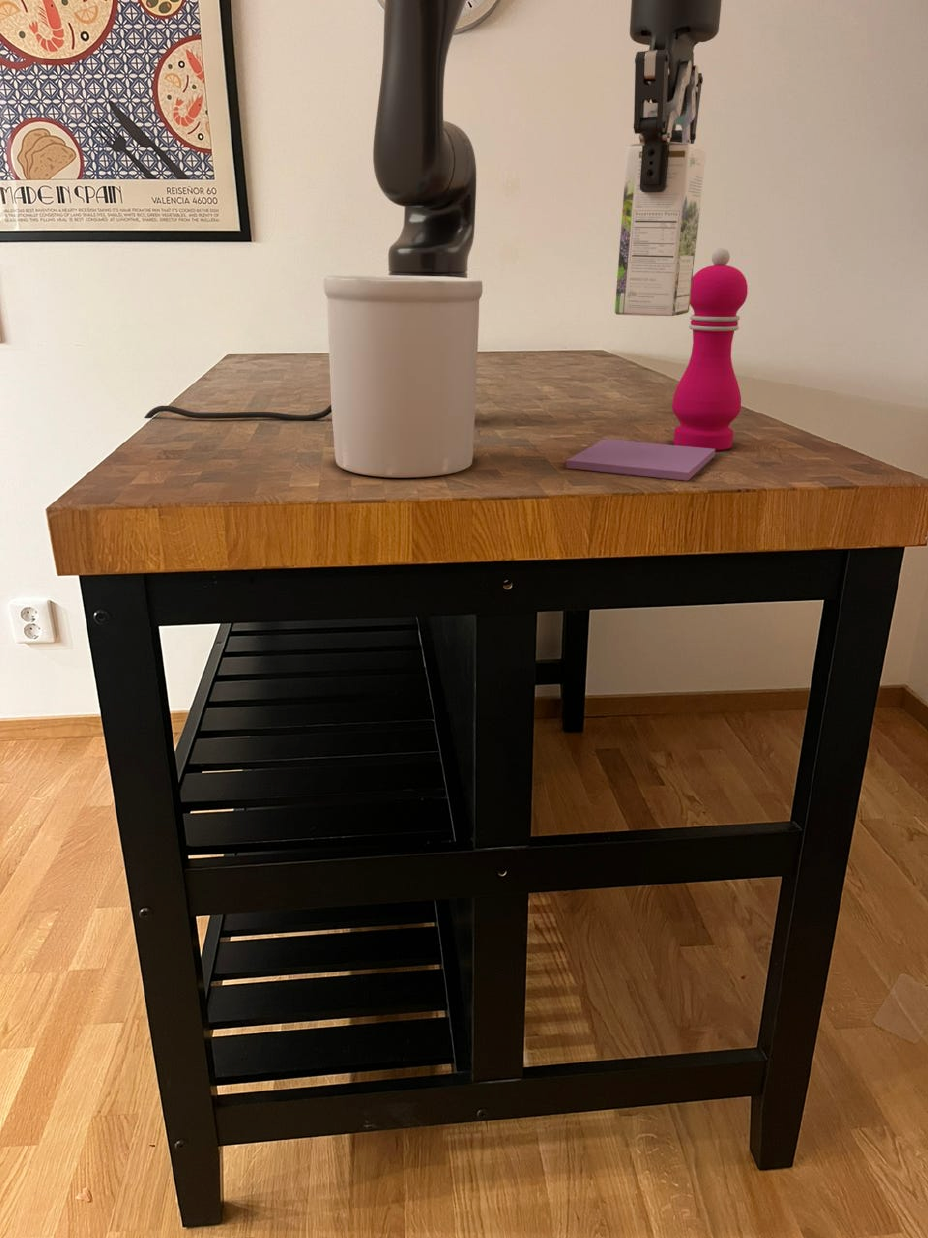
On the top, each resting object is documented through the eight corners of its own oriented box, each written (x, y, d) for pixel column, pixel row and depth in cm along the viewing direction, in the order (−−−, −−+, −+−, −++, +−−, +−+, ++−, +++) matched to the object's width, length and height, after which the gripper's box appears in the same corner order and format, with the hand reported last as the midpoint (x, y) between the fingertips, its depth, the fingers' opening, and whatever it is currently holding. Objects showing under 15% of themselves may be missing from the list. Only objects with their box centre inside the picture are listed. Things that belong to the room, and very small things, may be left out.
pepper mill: (738, 453, 97) (761, 248, 90) (668, 450, 99) (685, 248, 91) (734, 440, 104) (755, 248, 96) (668, 437, 105) (684, 247, 98)
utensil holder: (466, 446, 101) (467, 273, 94) (494, 477, 87) (497, 278, 81) (329, 450, 98) (320, 274, 92) (335, 483, 85) (325, 279, 78)
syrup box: (632, 311, 92) (643, 148, 86) (691, 314, 89) (706, 145, 84) (613, 315, 87) (624, 142, 82) (675, 317, 85) (690, 139, 79)
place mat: (565, 468, 91) (566, 459, 91) (603, 445, 101) (603, 438, 101) (687, 480, 86) (688, 472, 86) (714, 456, 96) (715, 448, 96)
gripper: (656, -3, 86) (642, 197, 92) (609, -44, 74) (597, 190, 80) (739, -12, 83) (719, 196, 89) (704, -56, 70) (683, 189, 77)
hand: (661, 192), depth 84 cm, fingers closed on syrup box, 5 cm apart
